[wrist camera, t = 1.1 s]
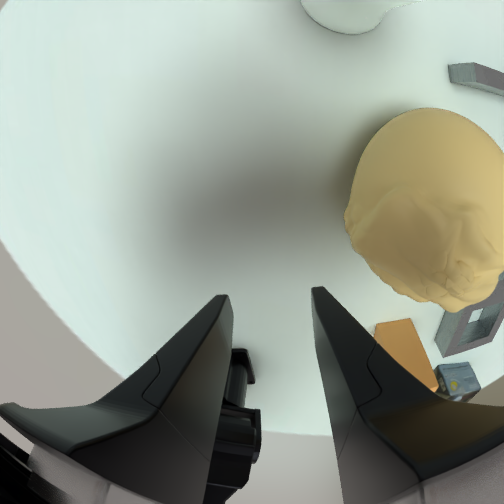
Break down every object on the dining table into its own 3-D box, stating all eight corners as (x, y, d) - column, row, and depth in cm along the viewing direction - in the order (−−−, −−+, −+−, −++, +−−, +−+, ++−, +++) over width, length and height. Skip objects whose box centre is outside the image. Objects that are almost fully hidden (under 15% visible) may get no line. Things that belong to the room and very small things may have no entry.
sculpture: (307, 208, 20) (332, 302, 11) (388, 77, 14) (485, 65, 5) (409, 270, 22) (459, 360, 13) (480, 166, 16) (566, 218, 7)
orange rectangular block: (402, 342, 27) (424, 407, 19) (371, 348, 27) (388, 416, 19) (410, 318, 25) (438, 386, 17) (376, 323, 25) (399, 396, 18)
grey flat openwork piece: (493, 322, 25) (504, 339, 22) (417, 343, 27) (426, 365, 24) (535, 95, 11) (557, 100, 8) (448, 64, 13) (473, 62, 10)
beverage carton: (471, 359, 29) (485, 391, 23) (412, 420, 39) (418, 447, 33) (437, 362, 29) (452, 399, 23) (379, 424, 39) (384, 454, 33)
